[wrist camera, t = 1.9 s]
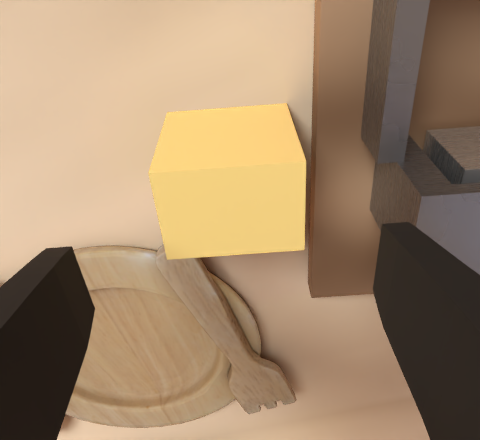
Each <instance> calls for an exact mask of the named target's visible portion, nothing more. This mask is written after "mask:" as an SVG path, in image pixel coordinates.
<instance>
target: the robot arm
mask: <svg viewBox="0 0 480 440" xmlns="http://www.w3.org/2000/svg"><path fill="white" fill-rule="evenodd" d="M373 292H374V296H375V299H376V303H377V307H378V311H379V314H380V317H381V321H382V324H383V327H384V330H385V332H386V335H387V337H388V339H389V342H390V344H391V347H392V349H393V351H394V354H395V356H396V358H397V361H398V363H399V365H400V368H401V370H402V372H403V375H404V377H405V379H406V381H407V384H408V386H409V388H410V391H411V393H412V395H413V398H414V400H415V402H416V405H417V407H418V409H419V412H420V414H421V416H422V419H423V421H424V424H425V427H426V429H427V432H428V434H429V437H430V440H480V275H479V274H478V273H477V272H475V271H474V270H473V269H471V268H470V267H468V266H467V265H466V264H464V263H463V262H462V261H460V260H459V259H458V258H456V257H455V256H454V255H452V254H451V253H450V252H448V251H447V250H446V249H444V248H443V247H442V246H440V245H439V244H438V243H437V242H435V241H434V240H433V239H431V238H430V237H429V236H427V235H426V234H425V233H423V232H422V231H421V230H419V229H418V228H417V227H415V226H414V225H413V224H411V223H410V222H400V223H386V224H382V227H381V234H380V241H379V248H378V255H377V262H376V269H375V276H374V283H373ZM94 312H95V307H94V304H93V302H92V299H91V296H90V294H89V291H88V288H87V286H86V283H85V280H84V277H83V275H82V272H81V269H80V267H79V264H78V261H77V259H76V256H75V253H74V251H73V248H72V247H59V248H46V249H45V250H44V251H42V252H41V253H40V254H38V255H37V256H36V257H35V258H34V259H32V260H31V261H30V262H29V263H28V264H26V265H25V266H24V267H23V268H22V269H21V270H20V271H18V272H17V273H16V274H15V275H14V276H13V277H12V278H10V279H9V280H8V281H7V282H6V283H5V284H4V285H2V286H1V287H0V440H57V437H58V434H59V431H60V428H61V425H62V422H63V419H64V416H65V413H66V411H67V408H68V405H69V402H70V399H71V396H72V393H73V390H74V387H75V384H76V381H77V378H78V375H79V372H80V369H81V366H82V363H83V360H84V357H85V354H86V351H87V348H88V343H89V339H90V334H91V329H92V323H93V318H94Z"/></svg>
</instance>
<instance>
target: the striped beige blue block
mask: <svg viewBox="0 0 480 440" xmlns="http://www.w3.org/2000/svg"><path fill="white" fill-rule="evenodd" d="M423 152H424V153H425V154H426V155H427V156H428V157H429V159H430V160H431V161H432V162H433V163H434V164H435V166H436V167H437V168H438V169H439V170H440V171H441V173H442V174H443V175H444V176H445V177H446V178H447V179H448V181H449V182H450V183H451V184H465V183H479V182H480V126H475V127H462V128H449V129H435V130H427V132H426V137H425V143H424V148H423Z"/></svg>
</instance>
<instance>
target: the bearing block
mask: <svg viewBox="0 0 480 440" xmlns="http://www.w3.org/2000/svg"><path fill="white" fill-rule="evenodd" d="M370 211H371V213H372V215H373V217H374V219H375V221H376V223H377V225H378V227H379V229H380V231H381V227H382V224H386V223H400V222H410V223H411V224H413V225H414V226H415V227H417V228H418V229H419V230H421V231H422V232H423V233H425V234H426V235H427V236H429V237H430V238H431V239H433V240H434V241H435V242H437V243H438V244H439V245H440V246H442V247H443V248H444V249H446V250H447V251H448V252H450V253H451V254H452V255H454V256H455V257H456V258H458V259H459V260H460V261H462V262H463V263H464V264H466V265H467V266H468V267H470V268H471V269H473V270H474V271H475V272H477V273H478V274H479V275H480V182H479V183H465V184H451V183H450V182H449V181H448V179H447V178H446V177H445V176H444V175H443V174H442V173H441V171H440V170H439V169H438V168H437V167H436V166H435V164H434V163H433V162H432V161H431V160H430V159H429V157H428V156H427V155H426V154H425V153H424V152H423V151H422V149H421V148H420V147H419V146H418V145H417V144H416V142H415V141H414V140H413V139H412V138H411V137H410V135H409V134H408V139H407V146H406V152H405V158H404V162H394V163H380V164H377V162H376V161H375V167H374V175H373V183H372V192H371V200H370Z"/></svg>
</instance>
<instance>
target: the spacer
mask: <svg viewBox="0 0 480 440" xmlns="http://www.w3.org/2000/svg"><path fill="white" fill-rule="evenodd" d="M148 174H149V178H150V183H151V188H152V192H153V197H154V202H155V206H156V211H157V216H158V220H159V225H160V229H161V234H162V239H163V243H164V248H165V253H166V257H167V260H171V259H185V258H199V257H213V256H227V255H241V254H255V253H270V252H284V251H298V250H304V246H305V198H306V159H305V156H304V153H303V150H302V147H301V144H300V141H299V138H298V135H297V133H296V130H295V127H294V124H293V121H292V118H291V115H290V112H289V109H288V106H287V103H285V104H272V105H258V106H245V107H232V108H219V109H205V110H192V111H179V112H167V115H166V118H165V121H164V124H163V128H162V131H161V134H160V137H159V141H158V144H157V147H156V150H155V153H154V157H153V160H152V163H151V166H150V170H149V173H148Z"/></svg>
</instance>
